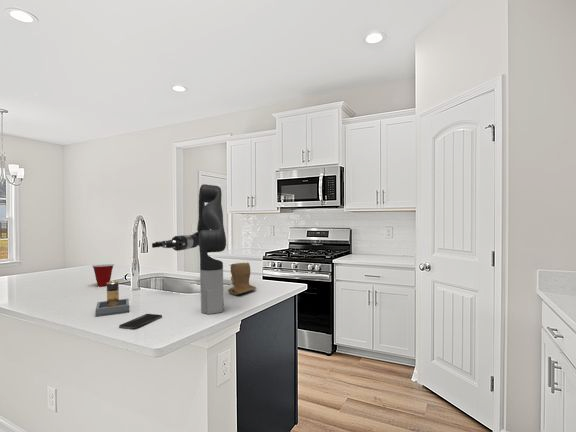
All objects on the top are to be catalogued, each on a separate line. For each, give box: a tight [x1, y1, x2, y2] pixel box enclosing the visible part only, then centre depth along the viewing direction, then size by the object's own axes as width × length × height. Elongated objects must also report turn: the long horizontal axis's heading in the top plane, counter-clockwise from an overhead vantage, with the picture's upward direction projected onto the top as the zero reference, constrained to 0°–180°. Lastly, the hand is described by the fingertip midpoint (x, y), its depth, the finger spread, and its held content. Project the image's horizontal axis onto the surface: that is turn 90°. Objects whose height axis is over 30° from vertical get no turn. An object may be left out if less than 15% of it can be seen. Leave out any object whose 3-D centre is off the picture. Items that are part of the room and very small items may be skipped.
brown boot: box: [227, 262, 257, 296], centre depth 174 cm, size 15×12×15 cm
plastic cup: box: [92, 263, 115, 288], centre depth 195 cm, size 11×11×12 cm
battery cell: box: [106, 280, 120, 307], centre depth 145 cm, size 4×4×12 cm
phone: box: [118, 313, 163, 331], centre depth 129 cm, size 8×1×15 cm
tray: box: [95, 298, 130, 318], centre depth 145 cm, size 12×12×3 cm
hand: (159, 245), depth 165 cm, fingers open, 8 cm apart
